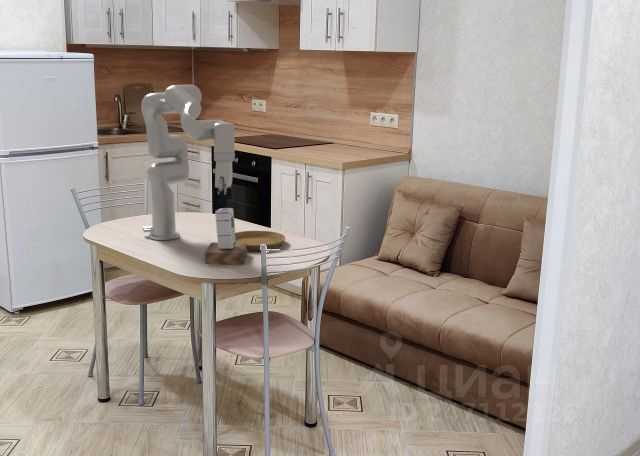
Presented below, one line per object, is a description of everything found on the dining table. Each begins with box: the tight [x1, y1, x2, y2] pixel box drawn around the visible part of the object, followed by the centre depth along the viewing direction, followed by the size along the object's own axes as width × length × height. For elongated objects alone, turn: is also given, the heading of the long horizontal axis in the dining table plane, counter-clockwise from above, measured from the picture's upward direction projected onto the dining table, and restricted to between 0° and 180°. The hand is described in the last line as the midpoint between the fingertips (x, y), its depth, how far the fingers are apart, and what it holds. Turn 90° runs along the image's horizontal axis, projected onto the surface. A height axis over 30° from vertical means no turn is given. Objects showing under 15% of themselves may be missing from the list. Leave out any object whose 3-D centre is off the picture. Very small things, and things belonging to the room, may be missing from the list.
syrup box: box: [214, 207, 236, 249], centre depth 270 cm, size 6×6×14 cm
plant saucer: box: [235, 230, 286, 252], centre depth 293 cm, size 24×24×3 cm
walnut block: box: [204, 242, 248, 266], centre depth 272 cm, size 14×14×5 cm
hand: (224, 201), depth 267 cm, fingers open, 9 cm apart
